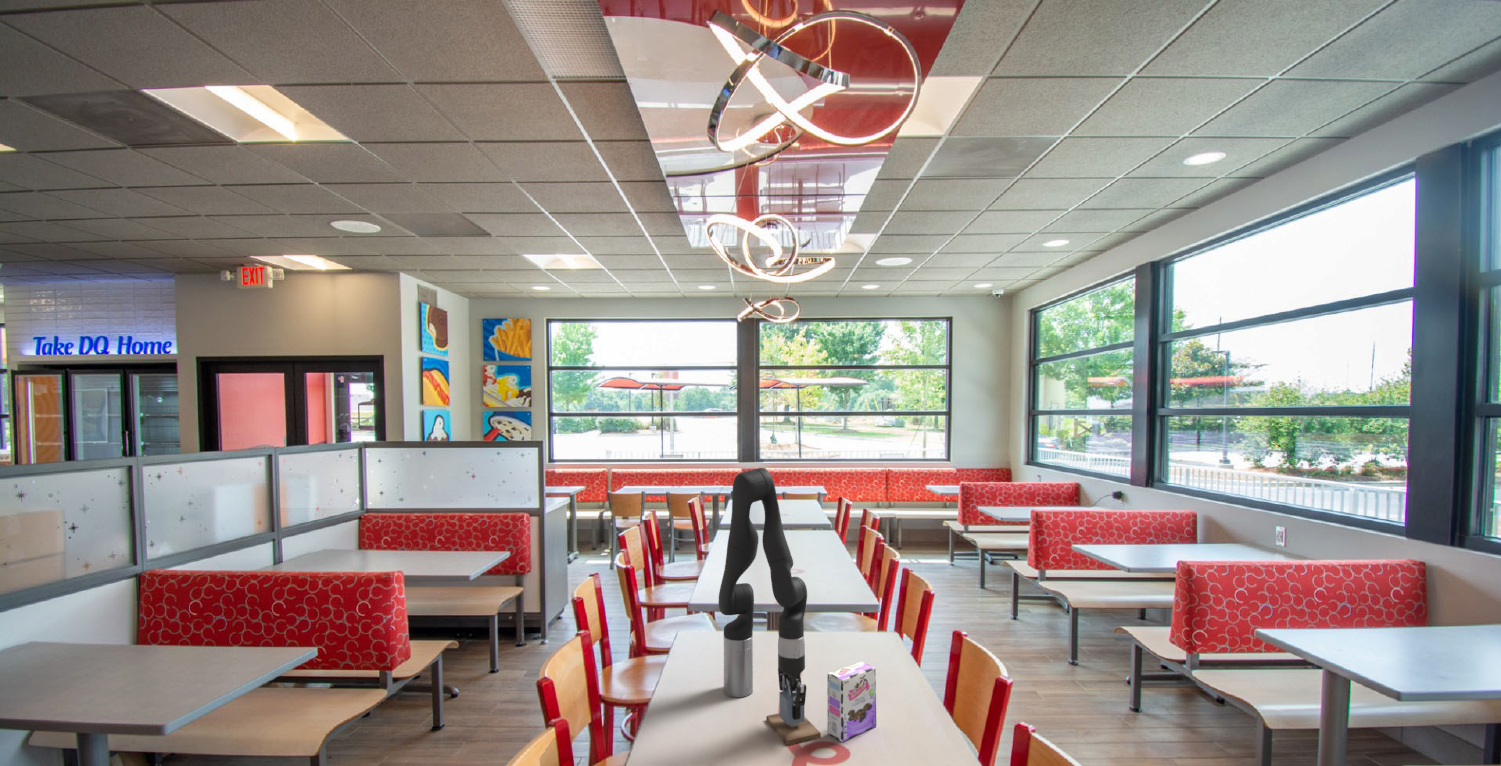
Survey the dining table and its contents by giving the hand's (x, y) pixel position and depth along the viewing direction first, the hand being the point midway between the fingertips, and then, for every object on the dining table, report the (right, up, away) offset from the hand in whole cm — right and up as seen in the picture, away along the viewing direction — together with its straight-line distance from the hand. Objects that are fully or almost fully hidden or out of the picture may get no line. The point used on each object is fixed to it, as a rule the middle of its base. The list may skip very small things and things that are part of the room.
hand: (792, 713), depth 165 cm
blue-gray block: (0, -1, 0) cm, 1 cm away
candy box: (+17, -4, -1) cm, 17 cm away
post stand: (0, -4, 0) cm, 4 cm away
